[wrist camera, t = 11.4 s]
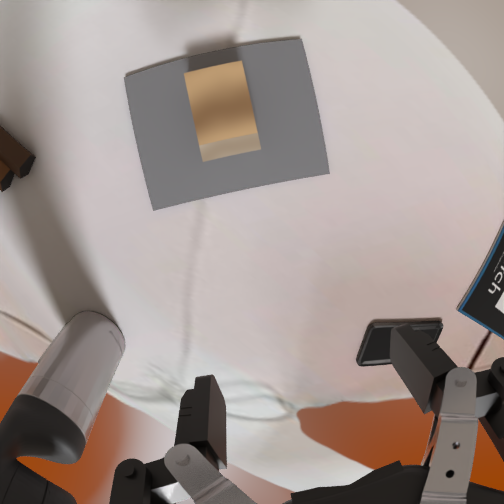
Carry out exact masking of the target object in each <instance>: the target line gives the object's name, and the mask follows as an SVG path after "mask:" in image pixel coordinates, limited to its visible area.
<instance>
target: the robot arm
mask: <svg viewBox="0 0 504 504" xmlns="http://www.w3.org/2000/svg"><path fill="white" fill-rule="evenodd" d="M124 351H125V341H124V338H123V335H122V333H121V332H120V330H119V329H118V327H117V326H116V325H115V324H114V323H113V322H112V321H111V320H109V319H108V318H106V317H105V316H103V315H101V314H99V313H95V312H90V311H85V312H80V313H78V314H77V315H75V316H74V317H73V319H72V320H71V321H70V323H67V324H66V325H65V326H64V327H63V328H62V330H61V331H60V332H59V334H58V335H57V336H56V337H55V339H54V340H53V341H52V343H51V344H50V345H49V347H48V348H47V349H46V351H45V352H44V353H43V355H42V356H41V358H40V359H39V361H38V363H39V364H38V366H37V367H36V368H35V370H34V371H33V373H32V374H31V376H30V377H29V379H28V380H27V382H26V384H25V385H24V386H23V388H22V389H21V391H20V392H19V394H18V396H17V397H16V398H15V400H14V401H13V403H12V405H11V406H10V408H9V410H8V411H7V413H6V415H5V416H4V418H3V420H2V421H1V423H0V504H77V503H76V500H75V499H74V497H73V496H72V495H71V494H70V493H68V492H67V491H65V490H64V489H62V488H60V487H59V486H57V485H55V484H53V483H52V482H50V481H48V480H46V479H45V478H43V477H42V476H40V475H39V474H37V473H35V472H34V471H32V470H31V469H29V468H28V467H26V466H25V465H23V464H22V463H20V462H19V461H17V459H16V458H17V457H20V456H32V457H38V458H42V459H46V460H49V461H53V462H57V463H62V464H72V463H76V462H77V461H78V460H79V459H80V458H81V455H82V453H83V451H84V448H85V445H86V443H87V440H88V437H89V435H90V432H91V429H92V427H93V424H94V421H95V419H96V416H97V414H98V411H99V409H100V406H101V404H102V402H103V399H104V397H105V394H106V392H107V390H108V387H109V385H110V383H111V381H112V378H113V376H114V374H115V371H116V369H117V367H118V365H119V362H120V360H121V358H122V356H123V353H124ZM390 359H391V363H392V365H393V367H394V368H395V370H396V371H397V373H398V374H399V376H400V377H401V379H402V380H403V382H404V383H405V385H406V386H407V388H408V389H409V391H410V393H411V394H412V396H413V397H414V399H415V400H416V402H417V404H418V405H419V407H420V408H421V410H422V411H423V413H424V414H426V413H428V412H430V411H433V412H434V414H435V415H434V418H433V423H432V428H431V432H430V437H429V440H428V445H427V448H426V452H425V455H424V458H423V460H422V463H421V465H404V466H402V465H401V463H400V461H396V462H394V463H392V464H389V465H386V466H384V467H381V468H379V469H376V470H374V471H372V472H370V473H369V474H367V475H366V476H364V477H362V478H360V479H359V480H357V481H355V482H354V483H352V484H350V485H345V486H332V487H317V488H313V489H309V490H305V491H300V492H295V493H291V498H292V499H291V500H289V501H286V502H285V503H283V504H504V491H500V490H496V489H493V488H489V487H486V486H482V485H479V484H476V483H473V482H470V481H469V480H470V474H471V469H472V464H473V459H474V451H475V445H476V437H477V428H478V419H479V421H480V422H481V424H482V426H483V427H484V429H485V430H486V432H487V434H488V435H489V437H490V439H491V440H492V442H493V443H494V445H495V447H496V449H497V450H498V452H499V454H500V456H501V458H502V459H503V461H504V357H502V358H498V359H496V360H495V361H494V362H493V364H492V366H491V369H489V370H485V371H481V372H476V373H474V372H473V371H472V370H470V369H468V368H465V367H457V365H456V364H455V363H454V362H453V361H452V360H451V359H450V357H449V356H448V355H447V354H446V353H445V352H444V351H443V350H442V349H441V348H440V346H439V345H438V344H437V343H435V341H434V340H433V339H432V338H431V336H430V335H429V334H427V333H425V332H423V331H421V330H418V331H415V330H414V329H413V328H412V327H411V326H410V325H409V324H408V323H405V324H403V325H400V326H397V327H394V328H392V329H391V339H390ZM219 469H227V454H226V405H225V400H224V397H223V395H222V393H221V390H220V388H219V386H218V384H217V381H216V379H215V377H214V375H206V376H200V377H196V379H195V386H194V389H190V390H187V391H186V392H185V394H184V395H183V397H182V398H181V403H180V410H179V417H178V423H177V430H176V438H175V444H174V447H172V448H171V449H169V450H168V452H167V453H166V455H165V457H164V458H162V459H160V460H156V461H153V462H150V463H146V464H143V463H142V462H141V461H140V460H137V459H127V460H124V461H122V462H121V463H120V464H119V465H118V466H117V468H116V470H115V474H114V480H113V485H112V491H111V496H110V503H109V504H176V503H177V502H181V501H184V500H187V499H191V498H192V499H193V500H194V503H195V504H257V503H255V502H254V501H253V500H252V499H251V498H249V497H248V496H247V495H246V494H245V493H244V492H243V491H241V490H240V489H239V488H238V487H237V486H236V485H235V484H234V483H232V482H231V481H230V480H229V479H226V478H225V477H224V476H223V475H222V474H221V473H220V472H219Z"/></svg>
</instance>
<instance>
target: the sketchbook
mask: <svg viewBox="0 0 504 504" xmlns="http://www.w3.org/2000/svg"><path fill="white" fill-rule="evenodd" d="M456 310H457V311H459V312H460V313H462V314H464V315H465V316H467V317H469V318H470V319H472V320H473V321H475V322H477V323H478V324H480V325H482V326H483V327H485V328H486V329H488V330H490V331H491V332H493V333H494V334H496V335H498V336H499V337H501V338H502V339H504V221H503V224H502V226H501V228H500V230H499V233H498V235H497V237H496V239H495V241H494V243H493V245H492V247H491V249H490V251H489V253H488V255H487V257H486V259H485V261H484V263H483V265H482V267H481V268H480V270H479V272H478V274H477V276H476V277H475V279H474V281H473V283H472V284H471V286H470V288H469V289H468V291H467V293H466V294H465V296H464V298H463V299H462V301H461V303H460V304H459V306H458V307H457V309H456Z"/></svg>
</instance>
